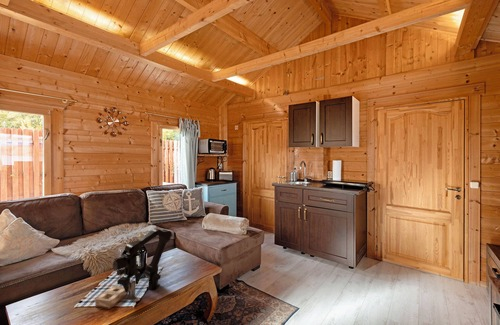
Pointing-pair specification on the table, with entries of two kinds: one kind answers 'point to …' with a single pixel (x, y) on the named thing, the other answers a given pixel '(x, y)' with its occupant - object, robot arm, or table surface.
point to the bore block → (110, 297)
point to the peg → (131, 290)
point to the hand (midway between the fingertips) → (131, 288)
